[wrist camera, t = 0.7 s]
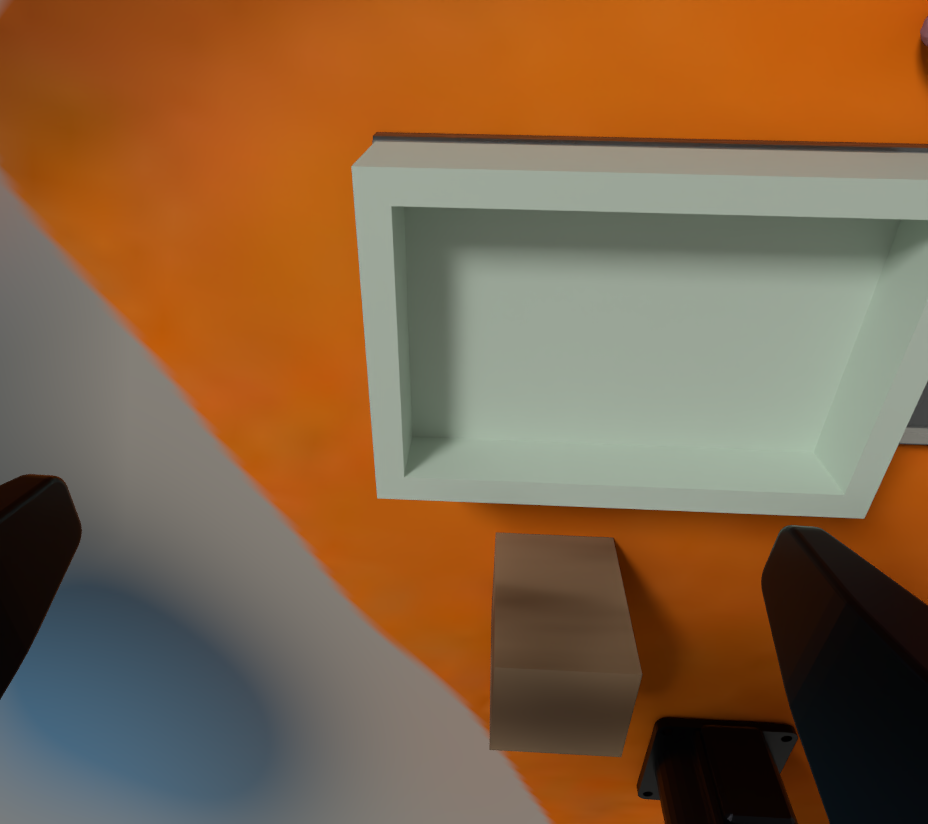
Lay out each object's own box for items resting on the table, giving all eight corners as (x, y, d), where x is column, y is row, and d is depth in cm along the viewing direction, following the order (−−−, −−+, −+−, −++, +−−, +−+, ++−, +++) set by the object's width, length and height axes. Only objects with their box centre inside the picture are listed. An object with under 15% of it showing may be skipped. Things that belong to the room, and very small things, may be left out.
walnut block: (598, 615, 27) (621, 757, 22) (491, 611, 27) (489, 749, 22) (613, 537, 24) (642, 674, 19) (495, 532, 25) (494, 667, 20)
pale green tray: (809, 442, 21) (864, 518, 18) (395, 426, 21) (377, 498, 18) (918, 148, 16) (1019, 181, 13) (379, 136, 16) (351, 166, 13)
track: (990, 437, 21) (1004, 449, 21) (392, 414, 22) (389, 426, 21) (1149, 148, 16) (1174, 154, 16) (376, 132, 17) (372, 136, 16)
